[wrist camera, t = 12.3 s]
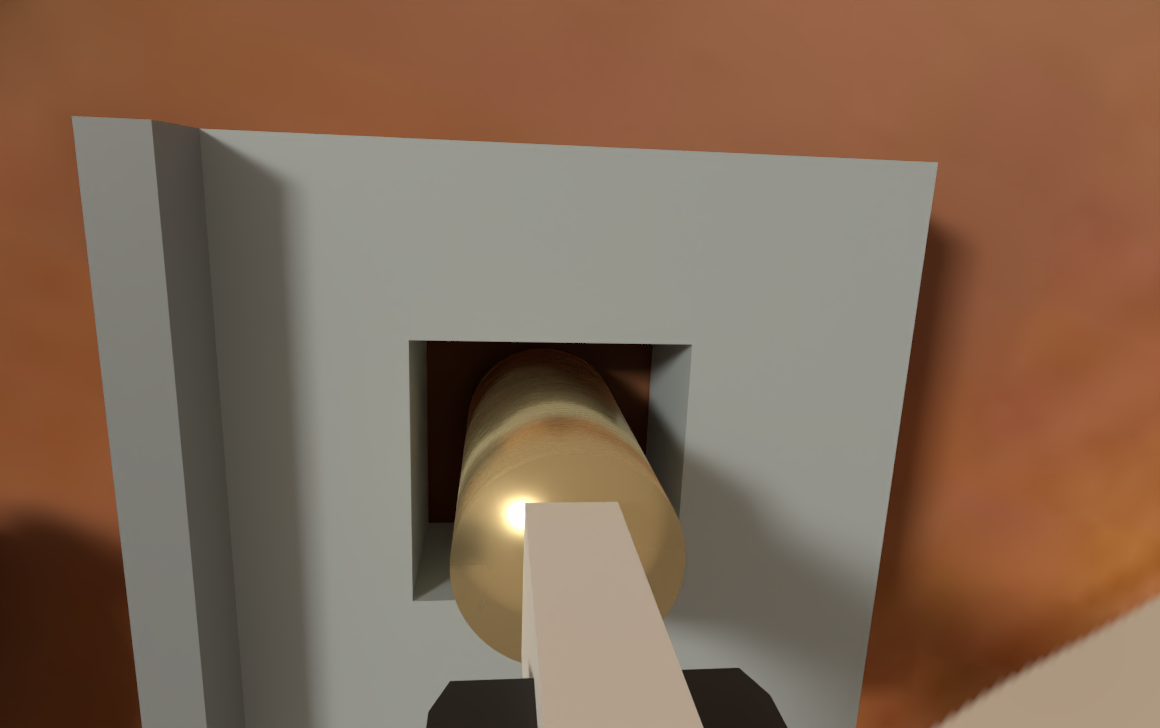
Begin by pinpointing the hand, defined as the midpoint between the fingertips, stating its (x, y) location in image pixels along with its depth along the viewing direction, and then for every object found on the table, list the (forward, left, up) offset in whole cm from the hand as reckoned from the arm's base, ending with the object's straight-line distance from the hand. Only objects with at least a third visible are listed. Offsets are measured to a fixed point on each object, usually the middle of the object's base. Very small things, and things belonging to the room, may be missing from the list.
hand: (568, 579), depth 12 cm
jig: (0, 0, -8) cm, 8 cm away
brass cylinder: (0, 0, -9) cm, 9 cm away
